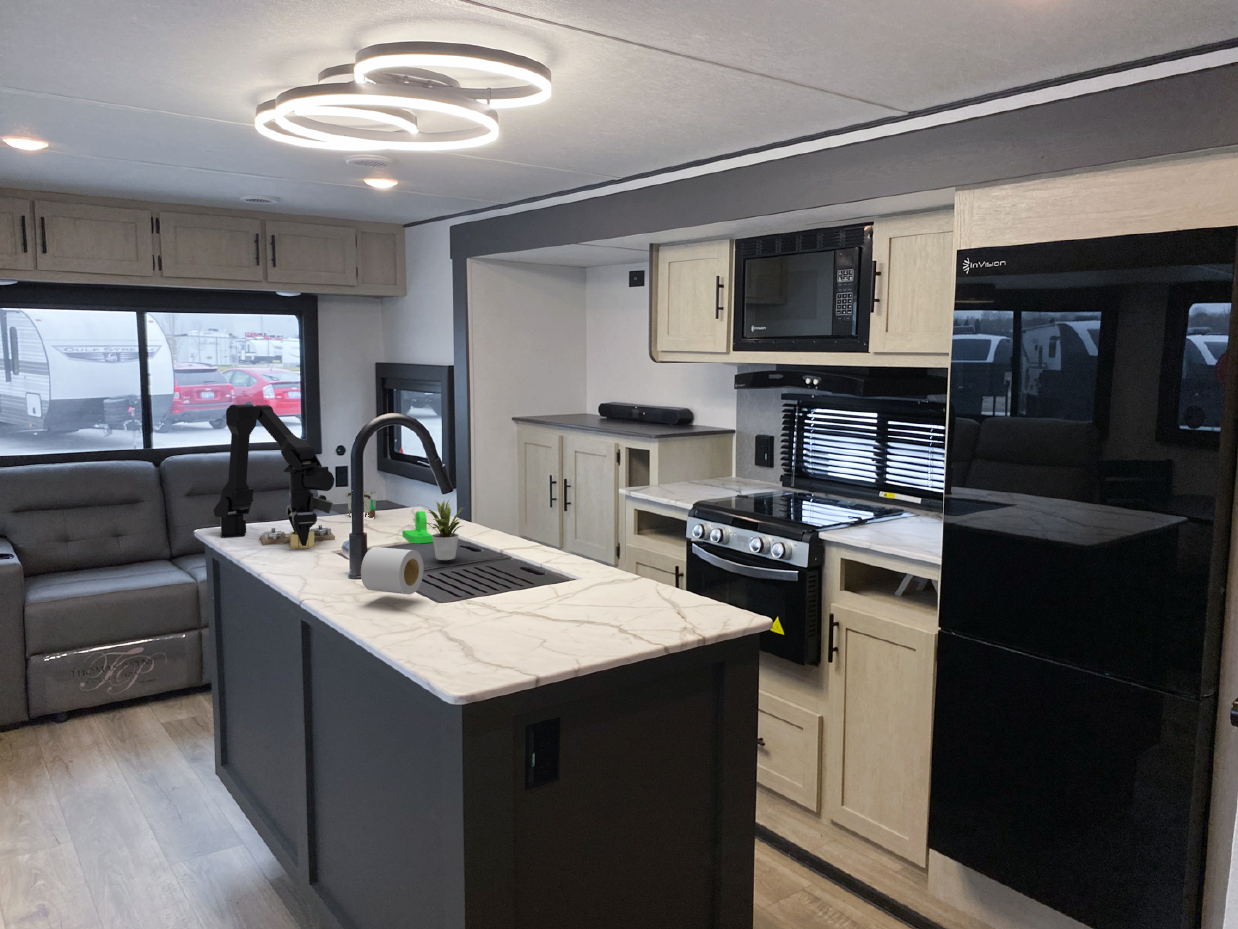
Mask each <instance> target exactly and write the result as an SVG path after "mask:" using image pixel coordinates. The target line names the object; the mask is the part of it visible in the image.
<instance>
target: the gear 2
mask: <svg viewBox="0 0 1238 929" xmlns="http://www.w3.org/2000/svg"><path fill="white" fill-rule="evenodd" d="M310 531H313V532H314V536H324V535H330V534H331V533H332V528H329V527H323V525H322V524H319V525H318V527H317V528H313V527H312V528H310Z"/></svg>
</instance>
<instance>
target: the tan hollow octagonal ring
mask: <svg viewBox="0 0 1238 929" xmlns="http://www.w3.org/2000/svg"><path fill="white" fill-rule="evenodd" d="M288 534H290V543H289V548H290V549H294V550H295V549H298V550H302V549H303V550H304V549H311V548H313V547H315V542H314V532H313V531H309V535H308V540H307V544H306V546H302V544H301V542H300V540H299V537H298V535H297V532H296V531H294V530H293V531H291V532H289V533H288Z"/></svg>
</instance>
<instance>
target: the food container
mask: <svg viewBox="0 0 1238 929" xmlns="http://www.w3.org/2000/svg"><path fill="white" fill-rule="evenodd" d="M363 490H364V512H365V517H366V515H367V513H368V515H369V516H368V517H369V518H373V517H376V504H377V503H376V502H377V500H378V499H379V496H378V493H377V490H376V491H375V490H369V489H367V490H366V489H363ZM351 491H352V490H347V491H346V495H345V497H346V498H347V507H348V517H349V518H351V517H350V513H351Z"/></svg>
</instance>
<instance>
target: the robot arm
mask: <svg viewBox="0 0 1238 929" xmlns="http://www.w3.org/2000/svg"><path fill="white" fill-rule="evenodd" d="M225 419H226V420H225V421H226V426H227V428H228V430H229V431H230V434H231V436H230V438H231V439H230V449H229V450H230V451H229V452H230V453H229V466H228V480H227V483H226V484H225V485H224V487H223V489H222V490H221V493H220V500H219V501H218V503H217V504H216V505H215V506H214V508H213V515H214V517H215V518H220V534H219V535H220V538H236V537H238V538H239V537H245V536H246V534H247V520H246V518H244V516H245V515H249V513H250V509H251V506H252V503H253V502H254V492H255V491H254V489H253V488H250V486H249V484H248V483H247V480H248V466H249V465H248V464H249V450H250V436H251V434H252V432H253V431H254V430H255V428H256V427H257V422H259V423H260V425H261V426H262V427H263V428H264V429H265V430H266V432H268V434H269V435H270V436H271V437H272V438H273V440H274V441H275V442H276V443H277V444H278V446H279V447H280V453H281V456H282V457H283V459H284V460H285V462H286V463H287V465H288V466H287V467H286V468H285V469H283V472H284V473H288V474H289V475H288V476H289V492H288V495H289V502H290V504H288V505H287V506H286V510H285V511H286V515H287V519H288V521H289V522H290V526H291V528H292V530H293V532H294V531H296V532H297V535H298V537H299V540H300V542H301V544H302V546H306V544H307V540H308V535H309V531H310V530H311V529H312V528H313V526H314V525H316V524H317V522H318V515H317V513H316V512H314V511H315V510H318V511H321V512H324V513H325V514H330V513H331V509H332V507H333V503H334V502H332V501H331V500H328V499H327V496H326V495H323V494H319V495H318V496H314V493H313V492H312V491H319V492H320V491H322V492H328V491H330V490H332V488H333V487H334V486H335V485H334V484H335V477H334V475H333V473H332V472H331V471H330V470H329V466H323V465H322V463H321V461H320V460H319V458H318V457H317V455H316V453H315V450H314V448H313V446H312V445H311V444H310V443H308V442H307V441H306V440H305V439H302V438H300V437H297V436H296V435H295V434H294V433H293V432H292V431H291V430H290V429H289V427H288V426H287V425H286V424H285V423H284V422H283V420H282V419H280V417H279V416H278V415H277V414H276V412H275V411H274V408H273V407H272V406H271V405H270V404H258V405H254V404H252V403H244V404H243V403H242V404H231V405H229V406H228V407H227V408H226V411H225Z"/></svg>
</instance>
